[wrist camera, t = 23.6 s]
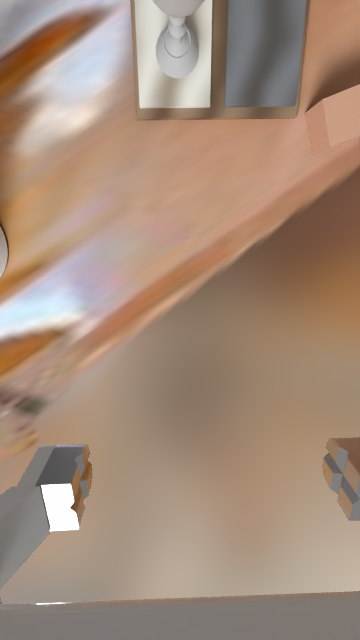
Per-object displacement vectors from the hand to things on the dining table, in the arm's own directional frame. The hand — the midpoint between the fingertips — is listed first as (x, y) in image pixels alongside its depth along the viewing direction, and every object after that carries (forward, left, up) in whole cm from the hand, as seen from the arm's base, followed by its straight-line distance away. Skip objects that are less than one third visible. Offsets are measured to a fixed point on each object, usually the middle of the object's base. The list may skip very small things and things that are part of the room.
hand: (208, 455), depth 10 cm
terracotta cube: (+18, +18, -37) cm, 45 cm away
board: (+4, +25, -36) cm, 44 cm away
